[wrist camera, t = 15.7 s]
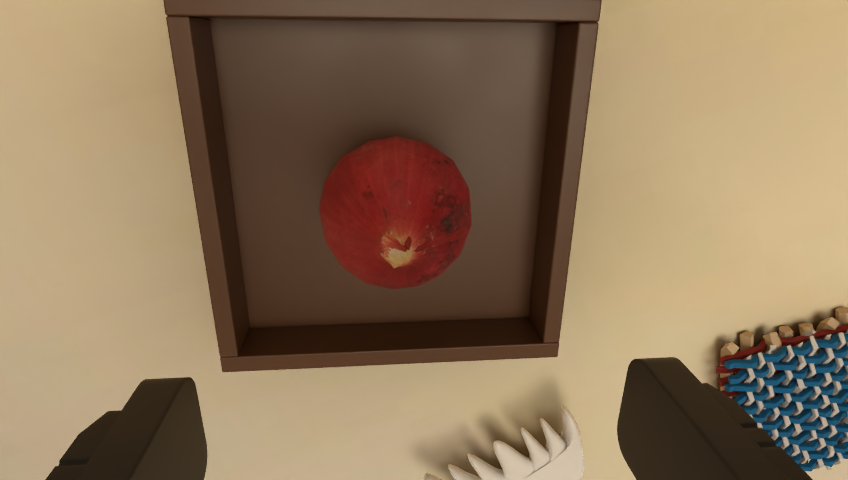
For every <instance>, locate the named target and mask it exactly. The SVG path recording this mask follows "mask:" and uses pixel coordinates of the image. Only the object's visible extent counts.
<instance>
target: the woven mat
mask: <svg viewBox="0 0 848 480" xmlns="http://www.w3.org/2000/svg"><path fill="white" fill-rule="evenodd" d="M798 327H799V331H800V335H801V336H798V337H794V338H793V331H792V330H791V328H790V327H789V326H780V327H779V336H778V334H777V332H773V333H769V334H766V335H763V338H764V339H762V341H761V342H760V343H759V345H758V346H756V347H754V334H753V333H751V332H749V331H746V332H744V333H742V334H740V351H739V352H736V351H737V350H738V349H739V347H738V346H737V345H735V344H734V343H733V342H729V343H726V344H725V345H724V346H723V348H722V349H721V356H720V358H719V363H720V366H717V373H720V378H719V379H718V382H719V385H720V392H722V393H724V394H725V395H727V396H728V397H730V398H732V399H733V400H735V401H736V402H737V403H738V404H739V405H740V406H741V407H742V408H743V409H744V410H745V411H746V412H747V413H748V414H749V415H750V416H751V417H752V418H753V419H754V420H755V421H756V422H757V426H758V428H763V429H764V430H765V431H766V432H767V434H768V435H769V436H770V437H771V438H772V439H773V440H774V441H775V444H776V446H777V447H781V448H782V449H783V450H784V451H785V452H786V453H787V454H788V455H789V456H790V457H791V458H792V459H793V460H794V461H795V462H796V463H797V464H798V465H799V466H800V467H801V468H802V469H803V470H804V471H812V470H813V469H819V468H821V467H822V466H824V465H825V466H826V468H827V469H831V467H832V466H833V464H835V465H836V464H839V463H841V462H842V461H843V460H844V459H848V308H842V307H839V308H837V309H835V319H834V318H833V317H829V318H827V319H824V320H822V321H821V322H820V323H819V325H818V326H817V328H816V331H815V330H814V328H813V326H812V324H810V323H802V324H798ZM831 337H832V338H831ZM793 346H794V347H793ZM735 352H736V353H735ZM734 372H738V373H737V374H736V375H734ZM774 375H775V376H774ZM815 376H816V377H815ZM739 393H740V394H739ZM737 394H739V395H738V396H736V397H734V395H737ZM774 397H775V398H774ZM828 458H829V459H828ZM843 458H844V459H843ZM808 459H811V460H810V461H809V463H808Z"/></svg>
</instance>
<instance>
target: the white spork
mask: <svg viewBox="0 0 848 480" xmlns="http://www.w3.org/2000/svg"><path fill="white" fill-rule="evenodd" d="M561 415H562V420H563V425H564V430H563V431H562V433H561V434H560V435H558V434H557V433H556V432H555V431H554V430H553V429H552V427H551V426H550V425H549V424H548V423H547V422H546V421H545V420H544V419H543V418H540V422H541V426H542V429H543V432H544V435H545V438H546V442H547V443H546V446H545V447H543V446H542V445H541V444H540V443H539V442H538V441H537V440H536V439H535V438H534V437H533V436H532V435H531V434H530V433H529V432H528V431H527V430H526V429H524V428H523V427H521V428H520V431H521V435H522V437H523V439H524V441H525V444H526V446H527V448H528V451H529V453H530V455H529V458H528V457H526V456H524V455H522V454H521V453H520V452H518V451H517V450H515V449H514V448H512V447H511V446H509V445H508V444H506V443H505V442H502V441H500V440H495V441H494V443H493V449H494V452H495V454H496V456H497V458H498V460H499V462H500V465H501V467H502V469H503V470H502V469H498V468H495V467H493V466H492V465H490V464H488V463H486V462H485V461H483V460H482V459H480V458H478V457H477V456H475V455H473V454H470V453H468V456H467V457H468V459H469V461H470V463H471V465H472V466H473V468H474V469H475V470H476V472H477V473H478V475H479V476H476V475H473V474H471V473H468V472H466V471H464V470H462V469H460V468H459V467H457V466H455V465H452V464H448V469H449V471H450V473H451V475H452V476H453V478H454V479H455V480H581V478H582V475H583V472H584V456H583V450H582V443H581V436H580V431H579V428H578V426H577V423H576V421H575V420H574V418H573V416H572V415H571V413H570V412H569V410H568V409H567V408H566V407H565V406H564V405H562V406H561ZM424 478H425V480H441V479H439V478H437V477H435V476H433V475H431V474H429V473H426V474H425V476H424Z"/></svg>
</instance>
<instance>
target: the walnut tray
mask: <svg viewBox="0 0 848 480" xmlns="http://www.w3.org/2000/svg"><path fill="white" fill-rule="evenodd" d="M164 7H165V13H166V15H167V17H166V20H167V26H168V33H169V39H170V45H171V51H172V58H173V64H174V70H175V76H176V83H177V89H178V95H179V102H180V108H181V114H182V120H183V127H184V133H185V139H186V146H187V152H188V158H189V164H190V171H191V177H192V183H193V190H194V196H195V202H196V208H197V215H198V221H199V227H200V234H201V240H202V246H203V252H204V259H205V265H206V271H207V278H208V284H209V290H210V296H211V303H212V309H213V315H214V321H215V328H216V334H217V340H218V347H219V353H220V360H221V366H222V371H223V372H236V371H258V370H279V369H301V368H323V367H345V366H367V365H389V364H411V363H432V362H454V361H476V360H498V359H520V358H542V357H557V356H558V348H559V338H560V329H561V321H562V313H563V305H564V297H565V289H566V281H567V273H568V265H569V257H570V249H571V241H572V233H573V225H574V217H575V209H576V201H577V193H578V185H579V177H580V169H581V161H582V153H583V145H584V137H585V129H586V121H587V113H588V105H589V97H590V89H591V81H592V73H593V64H594V56H595V48H596V40H597V32H598V23H597V22H598V21H599V17H600V9H601V0H164ZM395 136H398V137H403V138H408V139H413V140H417V141H422V142H427V143H428V144H430V145H431V146H433V147H434V148H436V149H437V150H439V151H440V152H442V153H443V154H445V155H446V156H448V157H449V158H451V159H452V160H453V161H454V163H455V165H456V166H457V168H458V170H459V171H460V173H461V175H462V177H463V178H464V180H465V182H466V183H467V185H468V187H469V191H470V203H471V218H472V226H471V228H470V231H469V234H468V236H467V239H466V241H465V244H464V247H463V249H462V252H461V254H460V256H459V257H458V258H457V259H456V260H455V261H454V262H453V263H452V264H451V265H450V266H449V267H448V268H447V269H446V270H445V271H444V272H443V273H442V274H441V275H440V276H438V277H436V278H434V279H432V280H430V281H428V282H426V283H424V284H422V285H420V286H417V287H409V288H400V289H388V288H384V287H379V286H375V285H370V284H366V283H365V282H363V281H362V280H360V279H359V278H357V277H356V276H354V275H353V274H351V273H350V272H348V271H347V270H345V269H344V268H343V267H342V266H341V265H340V263H339V262H338V260H337V259H336V257H335V256H334V254H333V253H332V251H331V250H330V248H329V247H328V245H327V244H326V240H325V236H324V232H323V227H322V222H321V218H320V213H319V206H320V201H321V196H322V190H323V185H324V181H325V180H326V178H327V177H328V176H329V174H330V173H331V171H332V170H333V168H334V167H335V166H336V164H337V163H338V161H339V160H340V158H341V157H343V156H344V155H346V154H347V153H349V152H351V151H352V150H354V149H356V148H357V147H359V146H361V145H362V144H364V143H366V142H367V141H370V140H377V139H384V138H390V137H395Z"/></svg>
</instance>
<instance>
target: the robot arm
mask: <svg viewBox="0 0 848 480" xmlns="http://www.w3.org/2000/svg"><path fill="white" fill-rule="evenodd" d="M617 434H618V441H619V446H620V449H621V452H622V455H623V457H624V459H625V461H626V462H627V464H628V466H629V468H630V469H631V471H632V473H633V474H634V476H635V478H636V480H812V479H811V478H810V476H809V475H808V474H807V473H806V472H805V471H804V470H803V469H802V468H801V467H800V466H799V465H798V464H797V463H796V462H795V461H794V460H793V459H792V458H791V457H790V456H789V455H788V454H787V453H786V452H785V451H784V450H783V449H782V448H781V447H777V446H776V444H775V441H774V440H773V439H772V438H771V437H770V436H769V435H768V434H767V432H766V431H765V430H764V429H763V428H758V426H757V422H756V421H755V420H754V419H753V418H752V417H751V416H750V415H749V414H748V413H747V412H746V411H745V410H744V409H743V408H742V407H741V406H740V405H739V404H738V403H737V402H736V401H735V400H733V399H732V398H730V397H728V396H727V395H725V394H724V393H722V392H720V391H719V390H717V389H716V388H714V387H712V386H711V385H709V384H708V383H703V384H702V383H701V382H700V381H699V380H698V379H697V378H696V377H695V376H694V375H693V374H692V373H691V372H690V371H689V369H688V368H687V367H686V366H685V365H684V364H683V363H682V362H681V361H680V360H679V359H677V358H674V357H668V358H645V359H634V360H632V361H631V363H630V365H629V367H628V371H627V376H626V382H625V387H624V392H623V397H622V403H621V408H620V413H619V418H618V425H617ZM206 465H207V444H206V438H205V433H204V428H203V422H202V417H201V411H200V406H199V401H198V395H197V390H196V386H195V383H194V381H193V379H192V378H190V377H187V378H164V379H145V380H143V381H142V382H141V383H140V384H139V385H138V387H137V388H136V390H135V391H134V393H133V394H132V396H131V397H130V399H129V400H128V402H127V403H126V405H125V406H124V408H123V409H122V411H108V412H107V413H105V414H104V415H103V416H102V417H100V418H99V419H98V420H96V421H95V422H94V423H93V424H91V425H90V426H89V427H88V428H86V429H85V430H84V431H82V432H81V433H80V434H79V435H78V436H77V438H76V439H75V440H74V442H73V443H72V444H71V446H70V447H69V448H68V450H67V451H66V453H65V454H64V455H63V457H62V458H61V459H60V463H59V466H55V468H54V469H53V470H52V472H51V473H50V474H49V476H48V477H47V479H46V480H204V477H205V472H206Z"/></svg>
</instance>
